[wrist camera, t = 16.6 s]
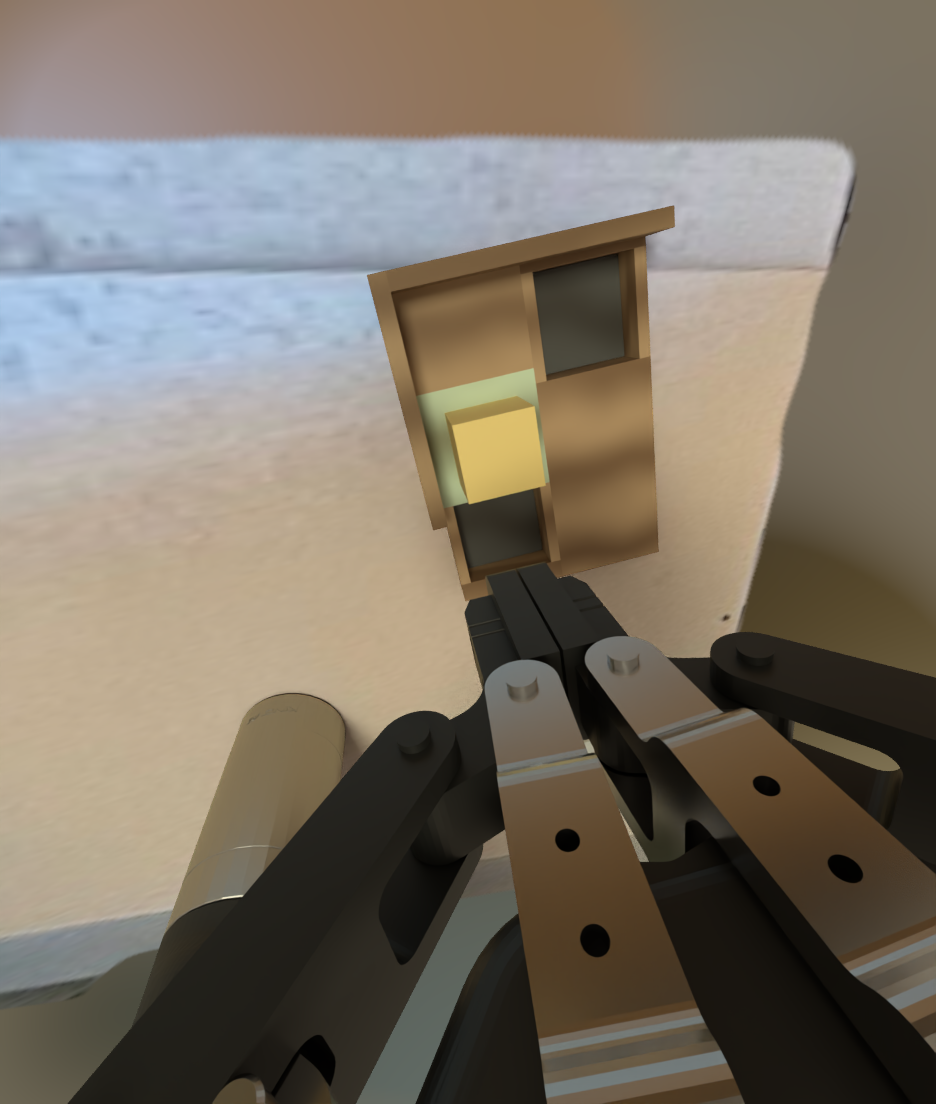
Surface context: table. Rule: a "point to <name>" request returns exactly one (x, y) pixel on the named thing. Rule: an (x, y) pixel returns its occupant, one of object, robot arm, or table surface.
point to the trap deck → (534, 391)
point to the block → (496, 448)
